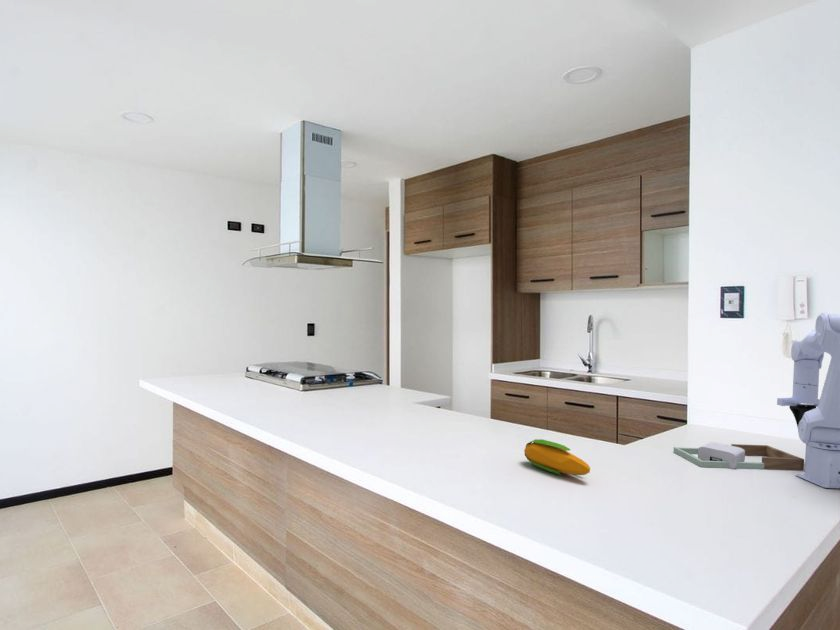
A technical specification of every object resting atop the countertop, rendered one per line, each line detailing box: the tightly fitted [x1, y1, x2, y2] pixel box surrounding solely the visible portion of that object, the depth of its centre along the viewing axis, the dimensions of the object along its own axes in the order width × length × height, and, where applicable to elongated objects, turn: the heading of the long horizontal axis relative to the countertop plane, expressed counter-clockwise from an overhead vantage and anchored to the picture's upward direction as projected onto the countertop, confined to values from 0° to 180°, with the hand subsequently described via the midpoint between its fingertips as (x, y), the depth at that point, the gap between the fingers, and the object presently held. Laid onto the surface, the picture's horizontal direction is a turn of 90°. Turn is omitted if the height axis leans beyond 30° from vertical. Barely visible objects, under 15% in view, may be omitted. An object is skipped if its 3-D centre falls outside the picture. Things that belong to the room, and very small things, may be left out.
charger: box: [697, 441, 746, 470], centre depth 144 cm, size 5×9×15 cm
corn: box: [523, 438, 591, 476], centre depth 127 cm, size 7×8×20 cm
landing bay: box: [673, 446, 765, 470], centre depth 143 cm, size 14×18×2 cm
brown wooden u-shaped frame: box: [730, 443, 805, 471], centre depth 144 cm, size 14×11×3 cm
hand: (803, 431), depth 142 cm, fingers closed
